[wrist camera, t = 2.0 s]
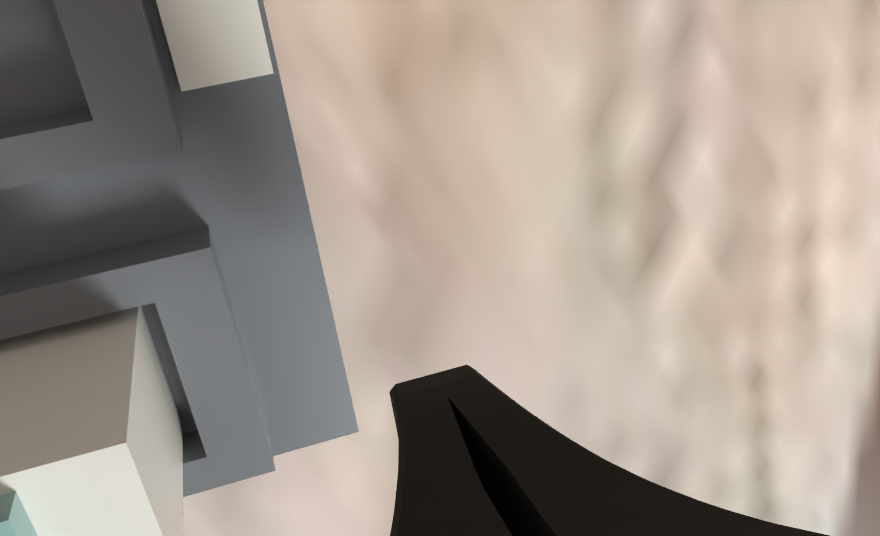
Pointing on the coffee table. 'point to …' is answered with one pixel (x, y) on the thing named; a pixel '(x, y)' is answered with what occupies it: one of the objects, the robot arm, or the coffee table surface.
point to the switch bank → (170, 215)
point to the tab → (89, 432)
